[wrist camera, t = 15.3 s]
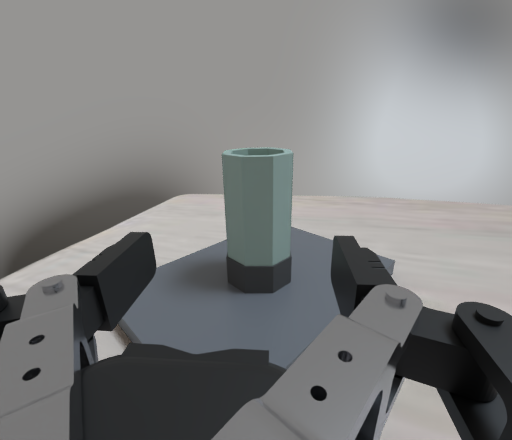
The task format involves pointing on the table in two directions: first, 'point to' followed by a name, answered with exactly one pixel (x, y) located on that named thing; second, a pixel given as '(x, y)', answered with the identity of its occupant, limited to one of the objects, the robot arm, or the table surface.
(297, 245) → the pin board
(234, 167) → the sleeve
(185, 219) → the table surface
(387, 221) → the table surface
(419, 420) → the table surface
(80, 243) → the table surface
